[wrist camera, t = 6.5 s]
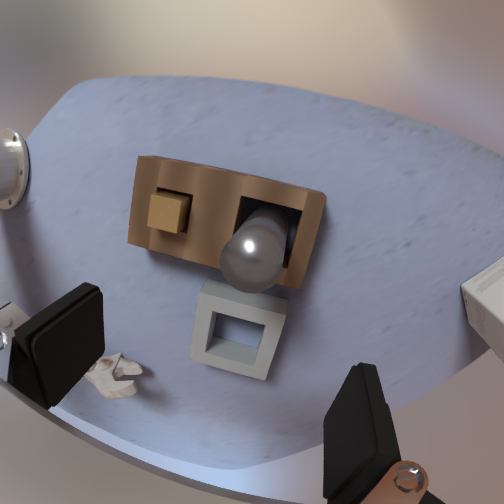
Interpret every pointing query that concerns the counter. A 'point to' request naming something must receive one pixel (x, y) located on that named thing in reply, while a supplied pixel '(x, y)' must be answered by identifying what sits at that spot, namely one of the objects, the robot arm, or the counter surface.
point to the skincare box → (487, 305)
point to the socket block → (218, 212)
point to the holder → (243, 307)
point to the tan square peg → (170, 210)
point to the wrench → (114, 376)
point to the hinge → (12, 318)
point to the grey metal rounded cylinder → (256, 251)
